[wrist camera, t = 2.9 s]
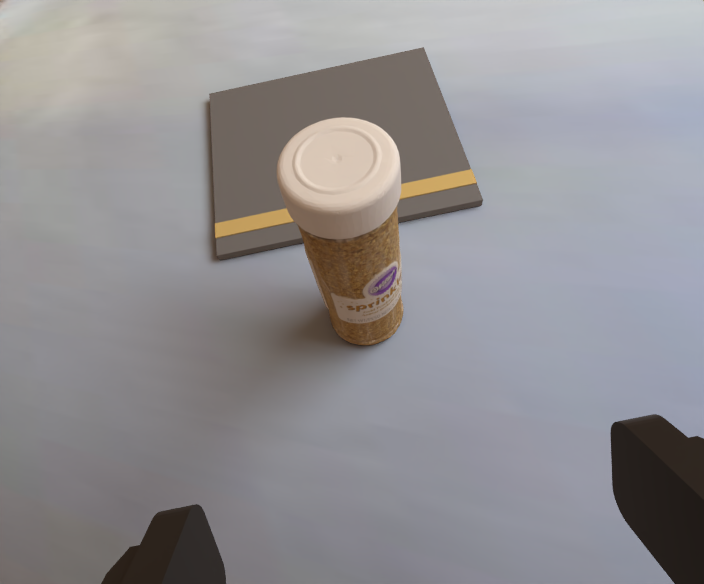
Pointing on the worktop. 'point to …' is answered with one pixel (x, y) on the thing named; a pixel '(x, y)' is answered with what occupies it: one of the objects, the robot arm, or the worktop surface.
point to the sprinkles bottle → (348, 221)
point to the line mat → (321, 104)
